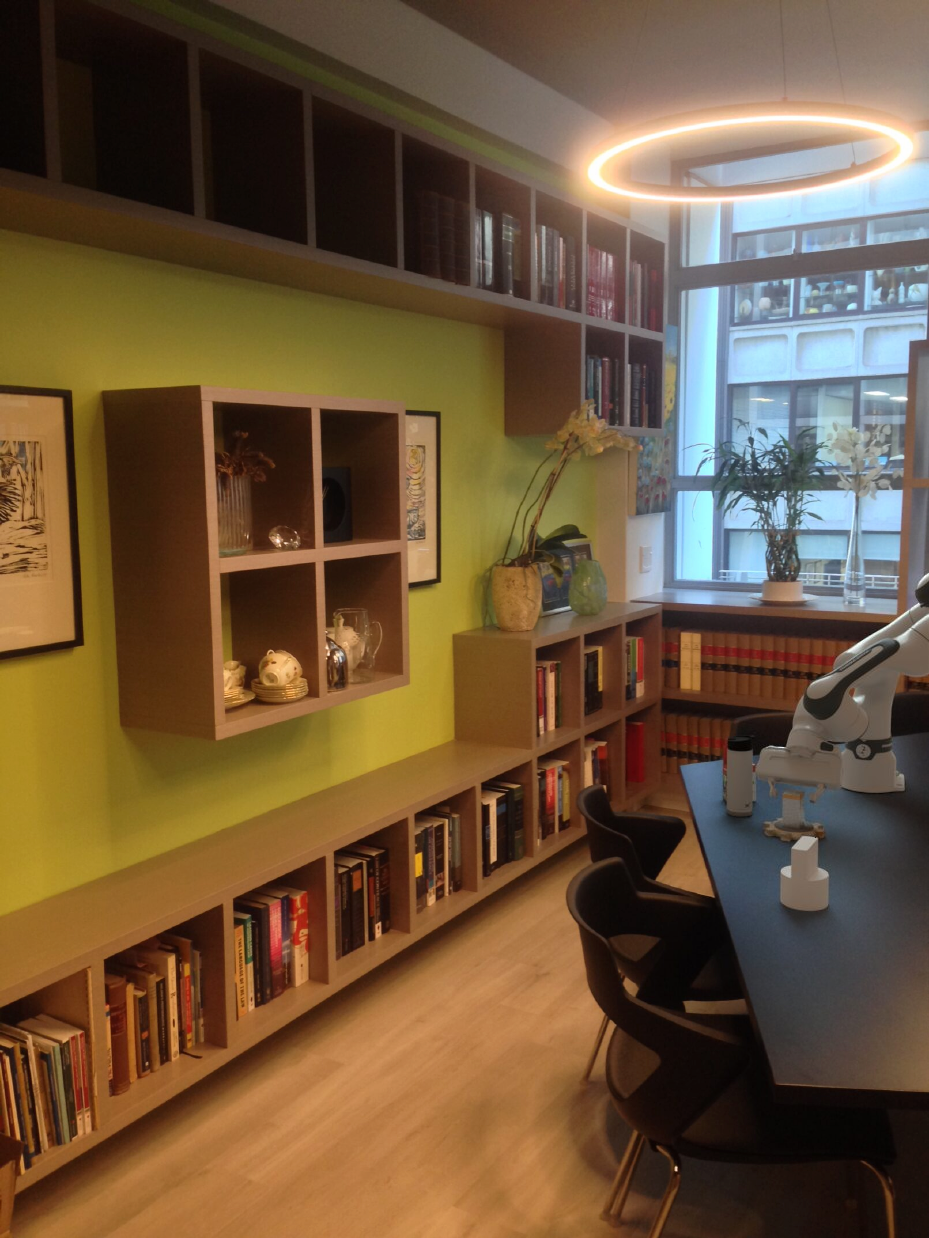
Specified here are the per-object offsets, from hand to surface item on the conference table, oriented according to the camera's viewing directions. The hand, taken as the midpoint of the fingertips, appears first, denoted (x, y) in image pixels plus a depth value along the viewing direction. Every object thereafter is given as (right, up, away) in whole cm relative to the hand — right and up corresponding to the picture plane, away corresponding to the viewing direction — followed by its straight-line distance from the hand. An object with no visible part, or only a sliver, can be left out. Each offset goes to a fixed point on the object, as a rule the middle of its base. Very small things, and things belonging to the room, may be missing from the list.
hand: (792, 799), depth 250 cm
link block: (0, -6, +1) cm, 6 cm away
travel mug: (-8, -7, +17) cm, 20 cm away
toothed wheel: (+1, -8, +1) cm, 8 cm away
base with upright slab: (-11, -13, -42) cm, 45 cm away
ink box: (-5, -5, +28) cm, 29 cm away
